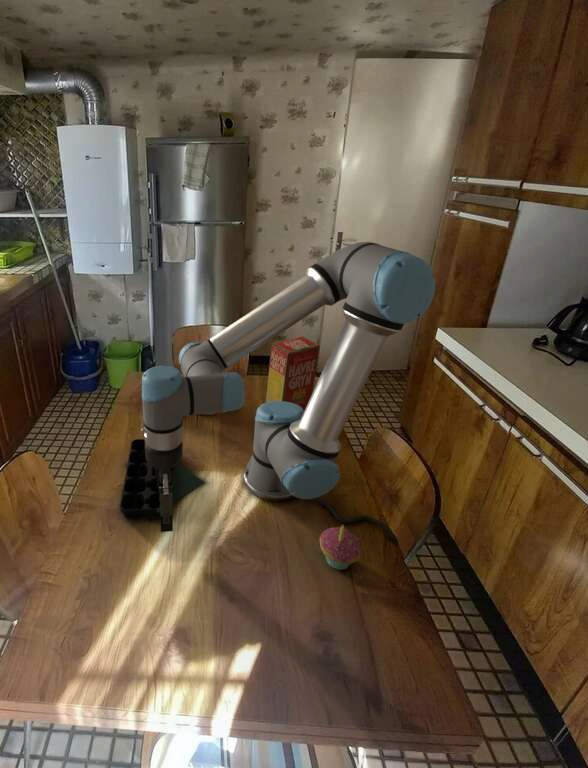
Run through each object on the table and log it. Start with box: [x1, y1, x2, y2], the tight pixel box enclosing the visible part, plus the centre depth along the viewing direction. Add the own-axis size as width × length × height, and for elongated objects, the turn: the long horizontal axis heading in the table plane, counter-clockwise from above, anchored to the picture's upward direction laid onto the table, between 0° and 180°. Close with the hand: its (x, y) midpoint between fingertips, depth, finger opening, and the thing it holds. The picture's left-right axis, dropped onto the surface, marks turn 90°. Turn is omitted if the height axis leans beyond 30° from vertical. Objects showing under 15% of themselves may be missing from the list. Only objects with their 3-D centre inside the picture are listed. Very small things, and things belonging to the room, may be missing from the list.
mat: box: [173, 463, 206, 503], centre depth 118 cm, size 20×11×1 cm, turn 44°
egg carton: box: [119, 438, 174, 520], centre depth 115 cm, size 18×30×4 cm, turn 14°
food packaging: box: [265, 336, 321, 411], centre depth 144 cm, size 13×9×25 cm
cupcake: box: [319, 524, 363, 571], centre depth 91 cm, size 9×8×12 cm
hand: (166, 529), depth 97 cm, fingers closed
